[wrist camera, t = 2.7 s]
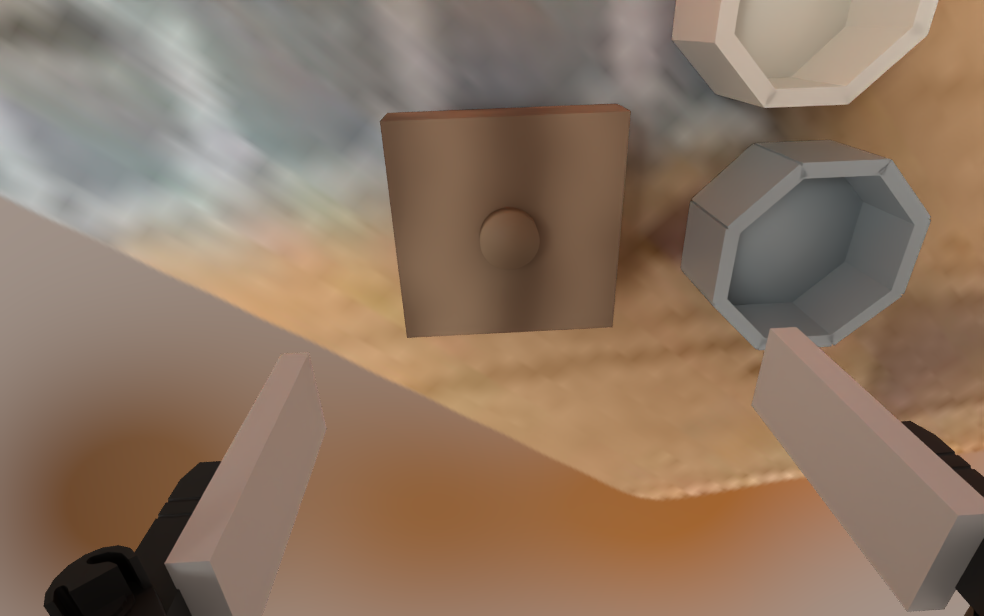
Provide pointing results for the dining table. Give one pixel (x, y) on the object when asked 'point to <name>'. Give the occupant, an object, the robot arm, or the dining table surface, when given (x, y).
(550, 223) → the lid
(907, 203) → the grey bowl
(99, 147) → the dining table surface
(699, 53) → the bowl
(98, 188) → the dining table surface
